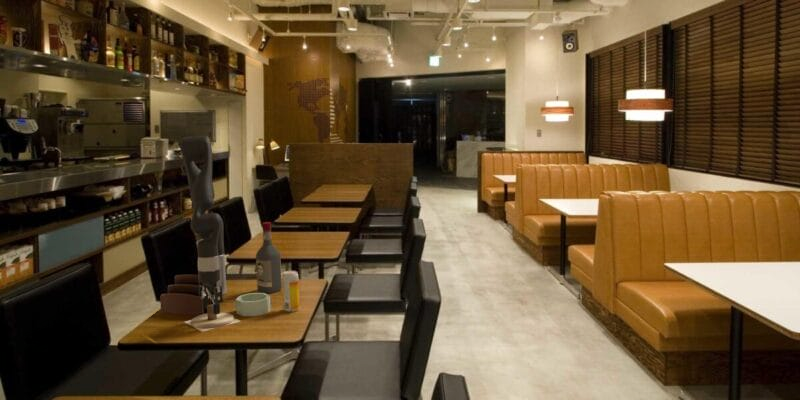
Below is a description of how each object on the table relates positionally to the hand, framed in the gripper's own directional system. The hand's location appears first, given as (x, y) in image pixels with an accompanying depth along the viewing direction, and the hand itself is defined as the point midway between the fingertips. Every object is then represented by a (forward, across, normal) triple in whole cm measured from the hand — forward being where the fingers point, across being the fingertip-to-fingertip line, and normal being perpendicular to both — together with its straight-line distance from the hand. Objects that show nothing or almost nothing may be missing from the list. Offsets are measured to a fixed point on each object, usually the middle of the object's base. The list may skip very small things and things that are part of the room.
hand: (211, 311), depth 218 cm
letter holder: (+5, -19, 0) cm, 20 cm away
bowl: (+4, 0, +17) cm, 18 cm away
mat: (+4, 0, 0) cm, 4 cm away
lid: (+4, 0, 0) cm, 4 cm away
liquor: (+4, -23, +38) cm, 45 cm away
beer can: (+5, +8, +29) cm, 31 cm away
